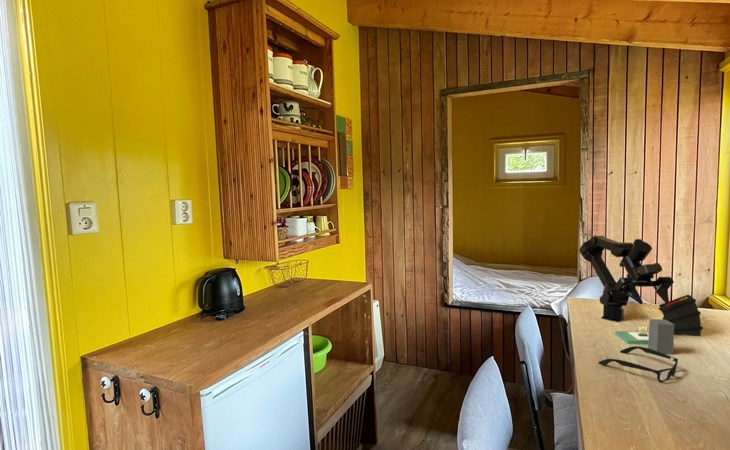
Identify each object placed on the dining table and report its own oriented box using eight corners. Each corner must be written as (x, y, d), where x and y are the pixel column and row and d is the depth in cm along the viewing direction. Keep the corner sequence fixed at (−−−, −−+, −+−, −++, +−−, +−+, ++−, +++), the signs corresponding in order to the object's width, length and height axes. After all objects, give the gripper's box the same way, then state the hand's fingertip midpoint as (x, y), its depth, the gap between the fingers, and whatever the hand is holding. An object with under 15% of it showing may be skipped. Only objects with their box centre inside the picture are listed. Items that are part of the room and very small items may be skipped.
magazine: (711, 332, 148) (694, 296, 148) (674, 345, 151) (657, 310, 151) (705, 328, 152) (688, 293, 152) (669, 341, 155) (652, 307, 155)
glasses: (660, 390, 115) (662, 374, 114) (596, 365, 129) (598, 350, 129) (683, 374, 124) (684, 359, 123) (621, 352, 138) (622, 338, 138)
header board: (615, 334, 153) (615, 322, 153) (657, 335, 151) (657, 322, 151) (627, 343, 144) (628, 330, 144) (672, 344, 143) (673, 331, 142)
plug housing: (656, 354, 135) (658, 324, 134) (648, 347, 140) (649, 319, 139) (672, 354, 135) (674, 324, 134) (663, 348, 140) (665, 319, 139)
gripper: (618, 256, 149) (638, 291, 138) (669, 255, 148) (693, 290, 138) (607, 274, 157) (624, 308, 146) (655, 273, 157) (676, 307, 146)
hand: (654, 303), depth 144 cm, fingers open, 9 cm apart
